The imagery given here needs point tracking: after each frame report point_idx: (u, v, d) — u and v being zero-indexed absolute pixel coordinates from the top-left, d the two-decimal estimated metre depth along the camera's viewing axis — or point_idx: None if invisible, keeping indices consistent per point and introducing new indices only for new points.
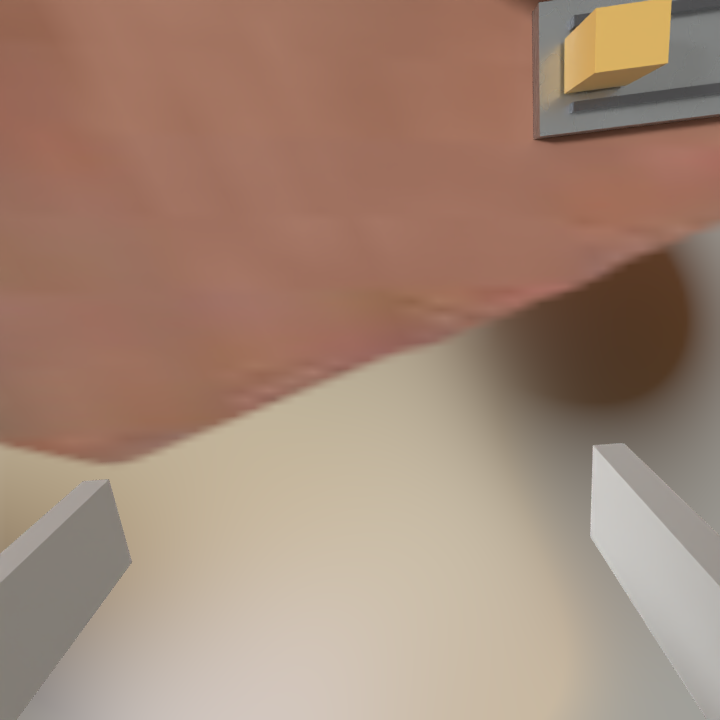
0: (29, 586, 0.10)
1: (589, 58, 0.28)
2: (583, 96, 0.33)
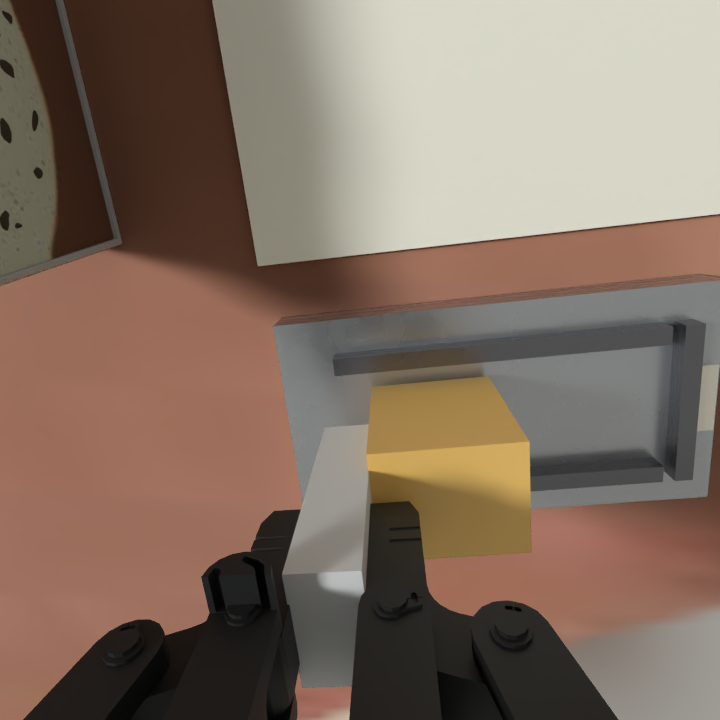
0: None
1: None
2: None
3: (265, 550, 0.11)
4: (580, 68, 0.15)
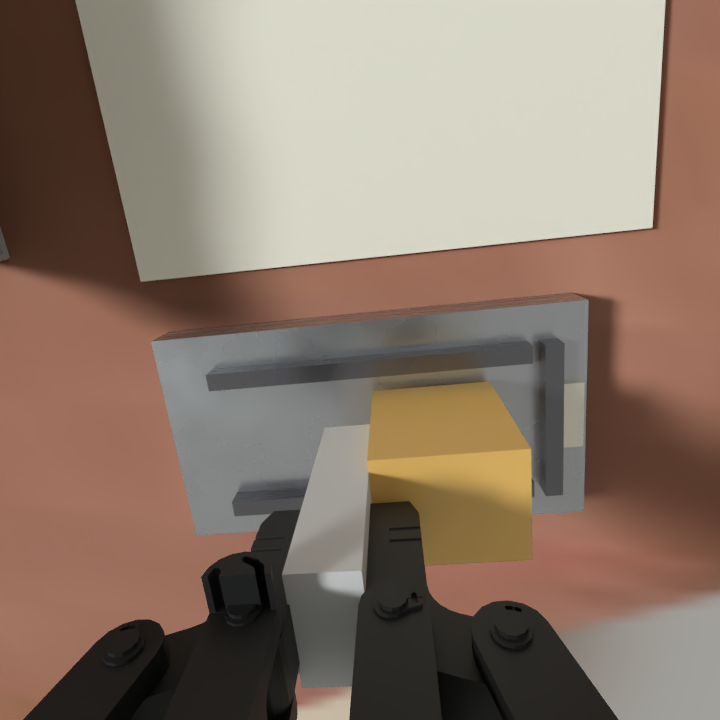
0: None
1: None
2: (258, 482, 0.19)
3: (265, 550, 0.11)
4: (441, 92, 0.16)
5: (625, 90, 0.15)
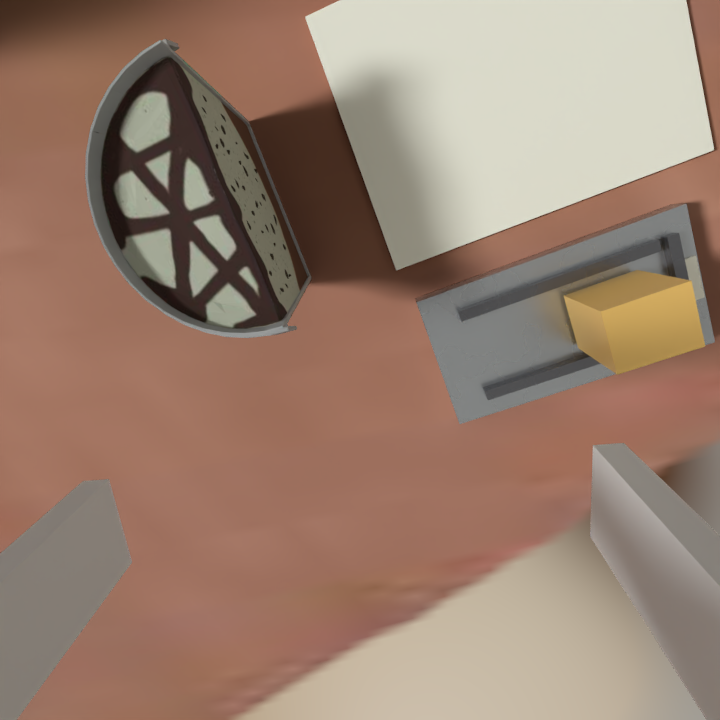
0: (29, 586, 0.10)
1: (604, 351, 0.24)
2: (495, 377, 0.29)
3: None
4: (564, 107, 0.26)
5: (677, 74, 0.25)
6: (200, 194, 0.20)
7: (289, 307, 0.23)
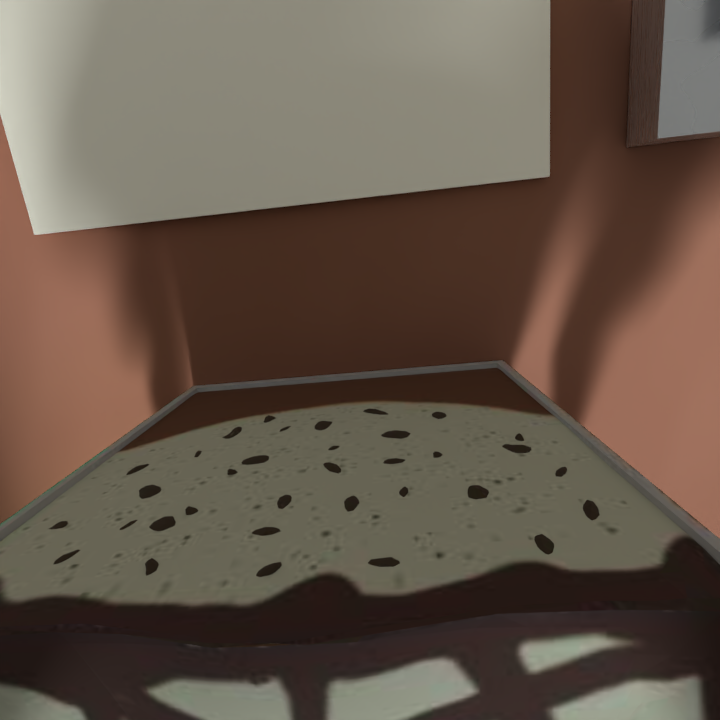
0: None
1: None
2: None
3: None
4: None
5: None
6: (255, 705, 0.06)
7: (646, 498, 0.07)
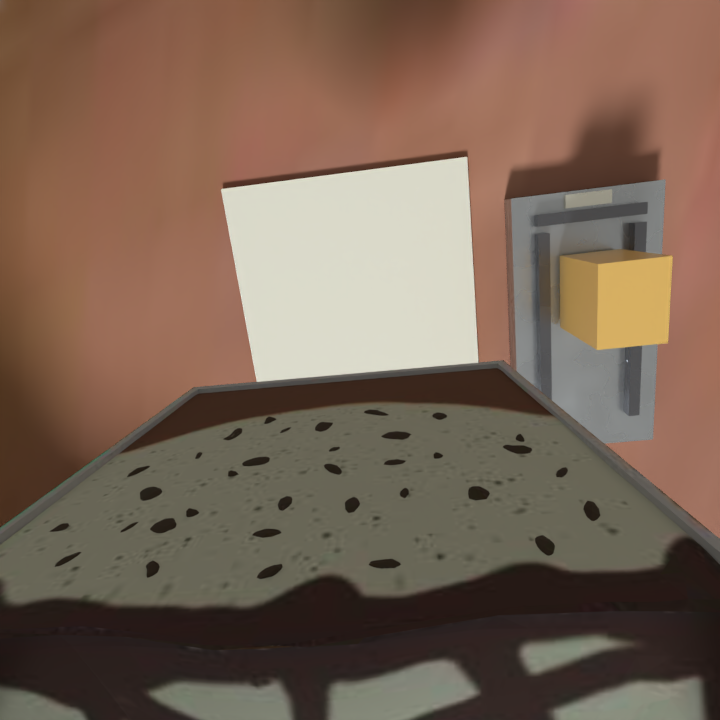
0: None
1: None
2: (617, 397, 0.29)
3: None
4: (390, 288, 0.29)
5: (391, 186, 0.28)
6: (255, 707, 0.06)
7: (647, 499, 0.07)
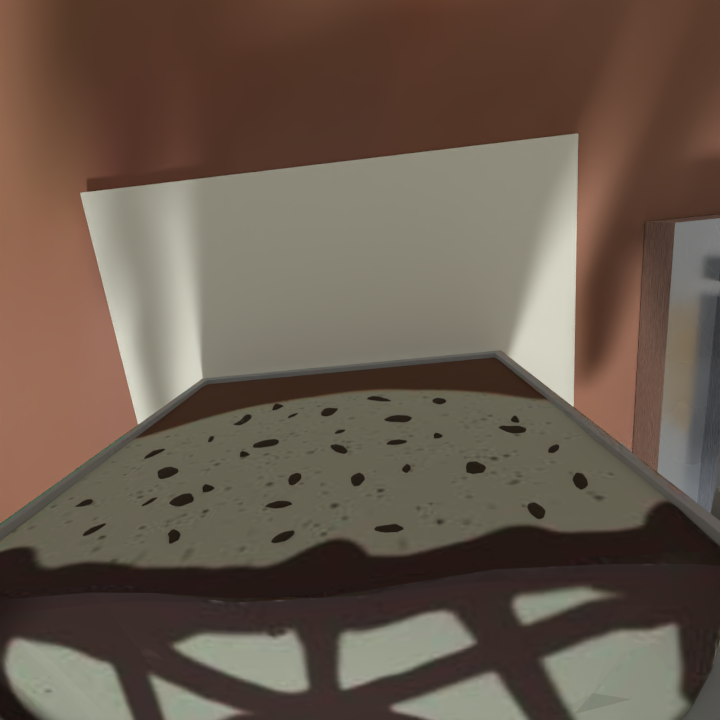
0: None
1: None
2: None
3: None
4: None
5: (419, 193, 0.14)
6: (272, 656, 0.07)
7: (632, 470, 0.08)
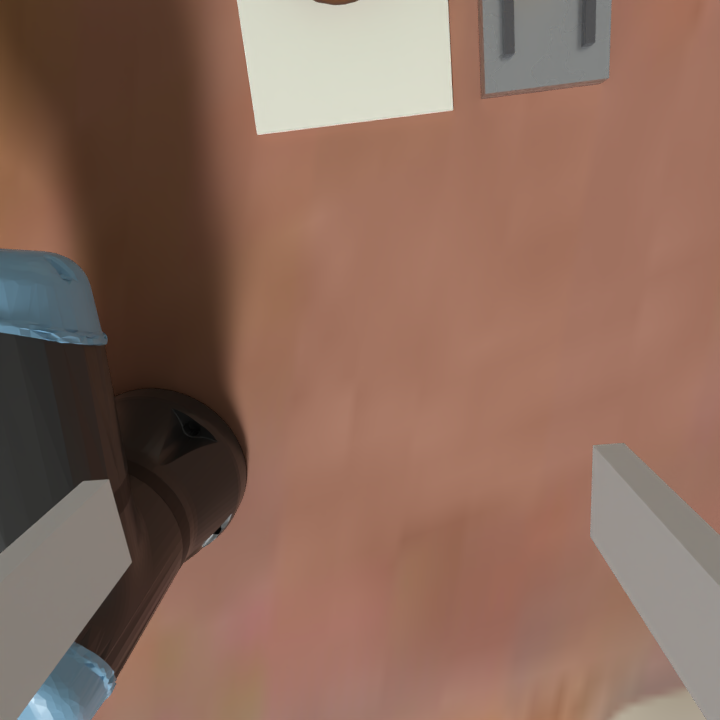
0: (28, 586, 0.10)
1: None
2: (575, 32, 0.31)
3: None
4: None
5: None
6: None
7: None
